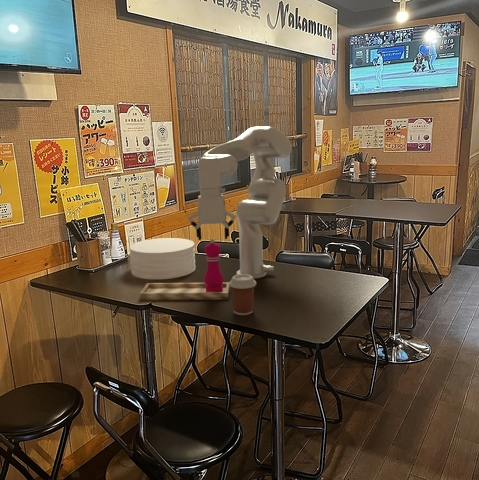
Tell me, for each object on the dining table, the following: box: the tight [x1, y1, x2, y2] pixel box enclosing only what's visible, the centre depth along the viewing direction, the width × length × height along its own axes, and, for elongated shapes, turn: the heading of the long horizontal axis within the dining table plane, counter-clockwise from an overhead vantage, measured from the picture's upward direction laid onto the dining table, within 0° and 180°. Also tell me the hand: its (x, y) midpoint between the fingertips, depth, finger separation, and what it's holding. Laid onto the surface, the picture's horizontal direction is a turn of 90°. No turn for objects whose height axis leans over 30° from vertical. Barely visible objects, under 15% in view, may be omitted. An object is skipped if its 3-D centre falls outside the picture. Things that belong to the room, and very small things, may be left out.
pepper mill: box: [203, 238, 225, 292], centre depth 176 cm, size 7×7×20 cm
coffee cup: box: [229, 274, 257, 316], centre depth 159 cm, size 9×9×12 cm
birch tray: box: [138, 281, 231, 301], centre depth 179 cm, size 32×12×2 cm, turn 88°
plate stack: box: [129, 237, 196, 280], centre depth 211 cm, size 28×28×12 cm
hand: (213, 238), depth 175 cm, fingers open, 9 cm apart
